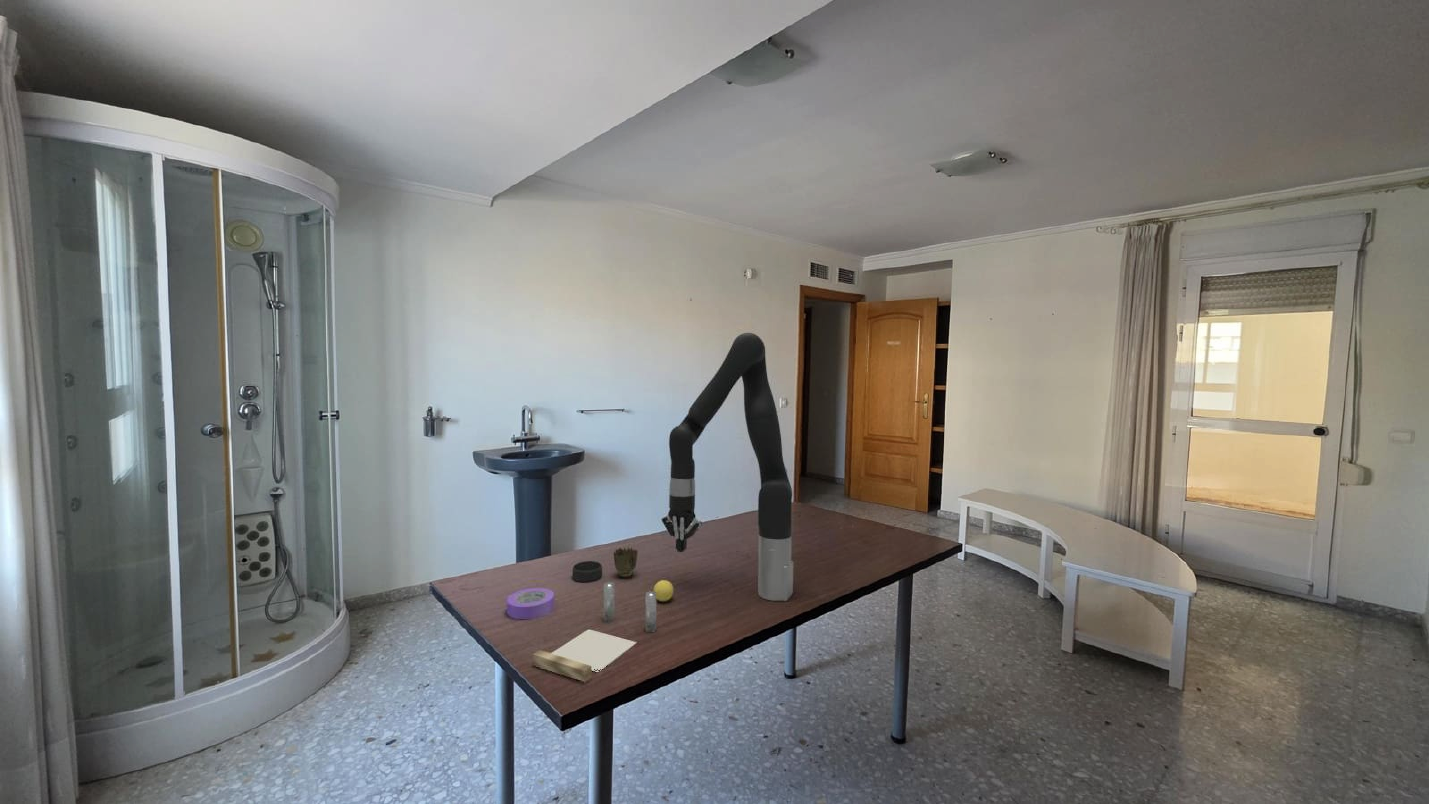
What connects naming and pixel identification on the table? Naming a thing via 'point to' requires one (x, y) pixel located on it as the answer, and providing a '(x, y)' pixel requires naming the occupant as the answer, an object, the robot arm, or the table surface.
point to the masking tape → (530, 603)
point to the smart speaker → (587, 571)
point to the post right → (650, 611)
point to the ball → (663, 590)
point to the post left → (609, 601)
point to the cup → (625, 561)
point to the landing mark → (594, 649)
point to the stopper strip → (561, 665)
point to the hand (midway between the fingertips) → (680, 551)
